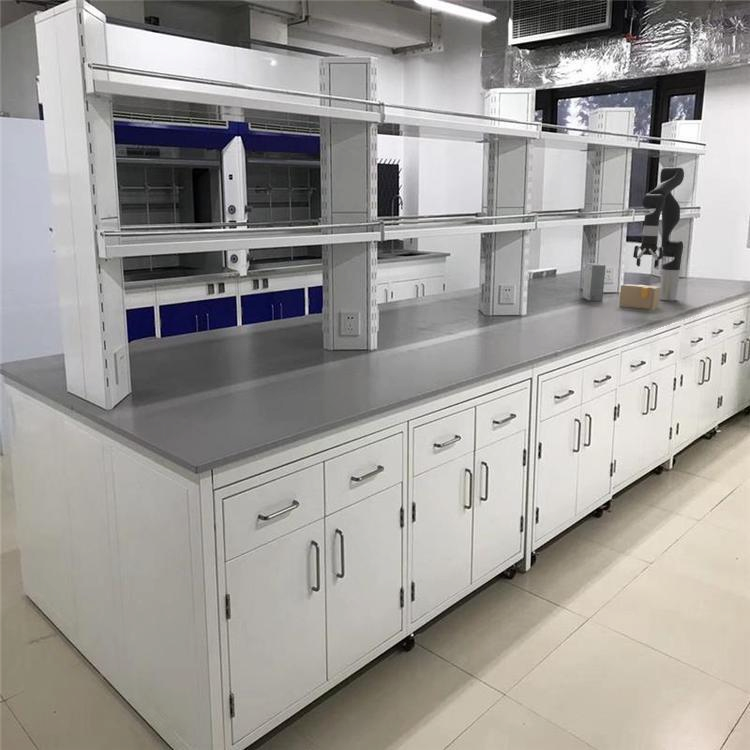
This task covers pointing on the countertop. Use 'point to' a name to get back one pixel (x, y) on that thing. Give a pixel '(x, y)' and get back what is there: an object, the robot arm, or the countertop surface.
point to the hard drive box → (593, 281)
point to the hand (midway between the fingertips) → (646, 266)
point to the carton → (654, 296)
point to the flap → (636, 296)
